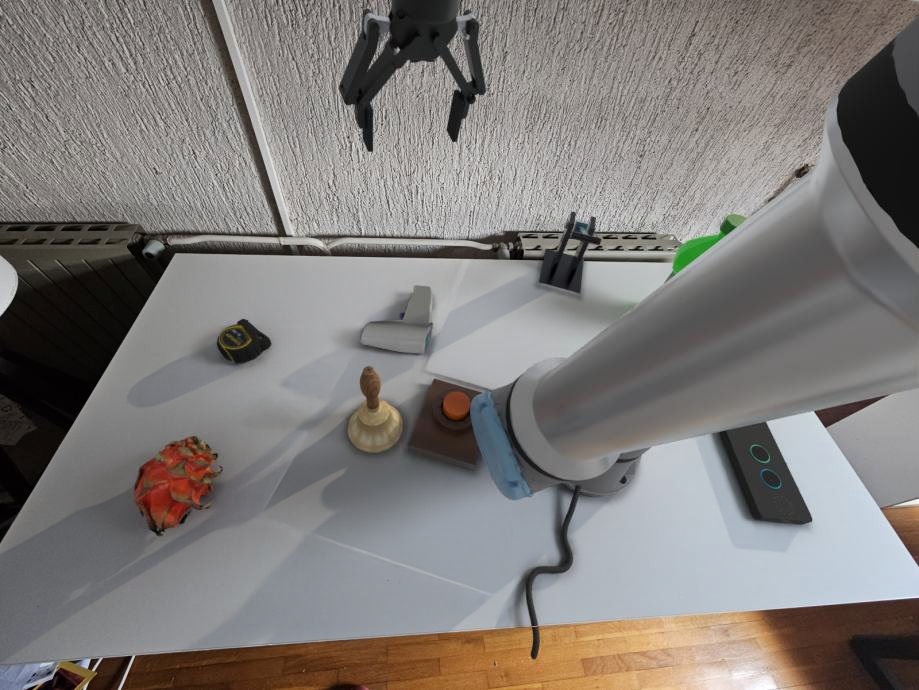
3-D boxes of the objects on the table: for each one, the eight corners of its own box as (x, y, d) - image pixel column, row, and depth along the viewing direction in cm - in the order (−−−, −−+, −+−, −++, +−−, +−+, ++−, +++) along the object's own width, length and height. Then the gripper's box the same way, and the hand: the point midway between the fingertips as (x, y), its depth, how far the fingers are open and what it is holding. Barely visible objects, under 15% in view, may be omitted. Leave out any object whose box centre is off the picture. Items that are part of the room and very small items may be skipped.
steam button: (465, 424, 56) (466, 418, 55) (439, 416, 56) (439, 410, 55) (471, 401, 59) (473, 395, 57) (446, 394, 59) (447, 388, 57)
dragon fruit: (221, 446, 55) (192, 539, 50) (151, 435, 51) (108, 536, 45) (238, 435, 50) (207, 537, 44) (161, 420, 45) (114, 533, 39)
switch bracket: (578, 296, 81) (604, 243, 70) (537, 285, 82) (557, 231, 71) (582, 262, 88) (606, 209, 77) (544, 252, 89) (563, 198, 78)
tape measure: (276, 349, 65) (270, 335, 62) (239, 374, 61) (230, 360, 58) (252, 328, 67) (245, 313, 64) (214, 350, 63) (205, 336, 61)
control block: (473, 470, 56) (477, 460, 52) (408, 450, 56) (408, 439, 53) (490, 402, 63) (495, 389, 60) (433, 385, 64) (434, 372, 61)
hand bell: (410, 411, 60) (411, 352, 48) (391, 460, 55) (385, 407, 43) (362, 396, 61) (349, 334, 49) (338, 443, 56) (317, 386, 43)
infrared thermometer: (434, 301, 77) (430, 357, 67) (374, 295, 76) (360, 352, 66) (436, 283, 74) (431, 340, 64) (372, 277, 73) (357, 334, 63)
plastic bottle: (688, 351, 74) (787, 248, 55) (634, 341, 75) (715, 235, 55) (677, 314, 81) (764, 210, 61) (628, 305, 81) (699, 198, 61)
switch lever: (598, 249, 65) (603, 235, 64) (569, 242, 65) (573, 228, 64) (589, 236, 77) (593, 224, 76) (565, 229, 77) (569, 217, 76)
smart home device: (761, 517, 54) (711, 395, 66) (752, 520, 55) (705, 400, 68) (816, 522, 54) (757, 400, 67) (806, 525, 56) (750, 404, 68)
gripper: (517, -53, 44) (474, 116, 63) (294, -69, 36) (321, 130, 55) (545, -14, 42) (492, 149, 61) (315, -22, 34) (336, 168, 53)
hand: (411, 140), depth 58 cm, fingers open, 13 cm apart
